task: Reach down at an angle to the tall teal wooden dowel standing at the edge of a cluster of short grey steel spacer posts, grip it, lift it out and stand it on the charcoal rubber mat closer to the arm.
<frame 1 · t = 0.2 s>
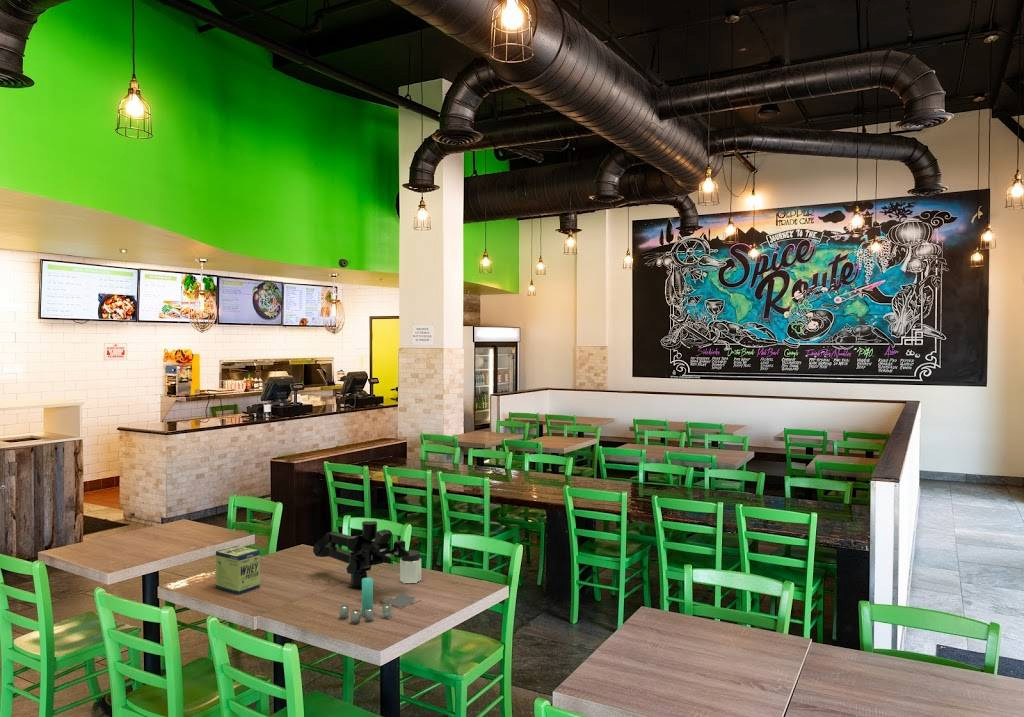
hand: (399, 557, 275), 17 cm above the table, tool horizontal, fingers open, 9 cm apart
spacer posts: (367, 614, 260), on the table
jar: (410, 581, 299), on the table
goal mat: (401, 601, 274), on the table
teal dowel: (367, 614, 260), on the table
protein box: (237, 588, 290), on the table
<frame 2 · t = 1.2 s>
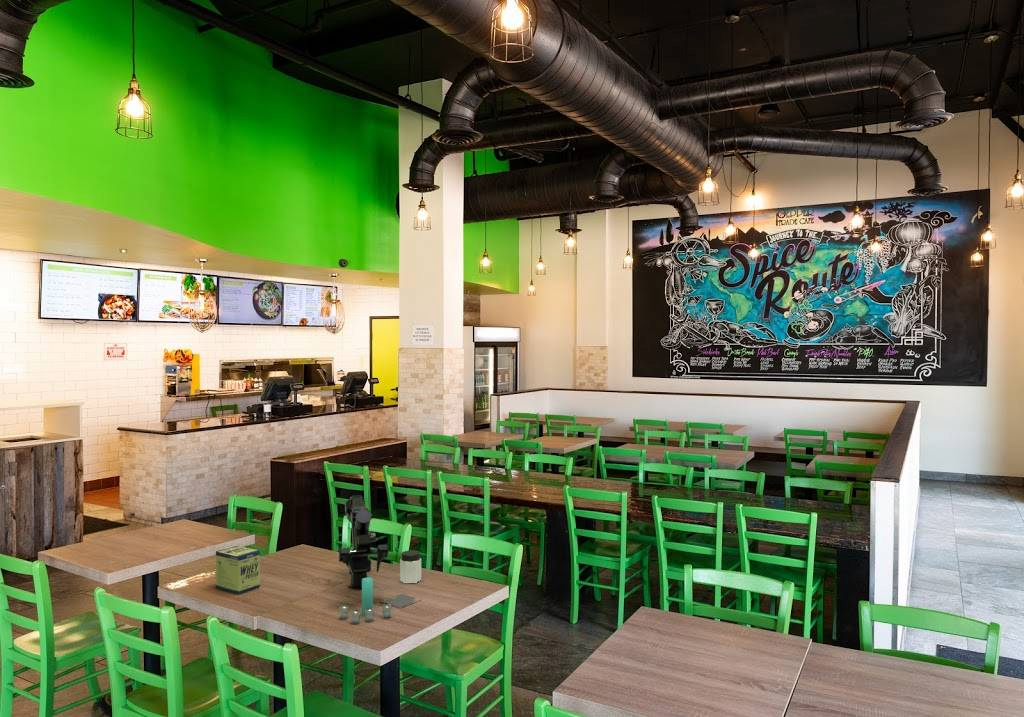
hand: (365, 572, 267), 13 cm above the table, tool tilted 45°, fingers open, 9 cm apart
nothing on the table moved.
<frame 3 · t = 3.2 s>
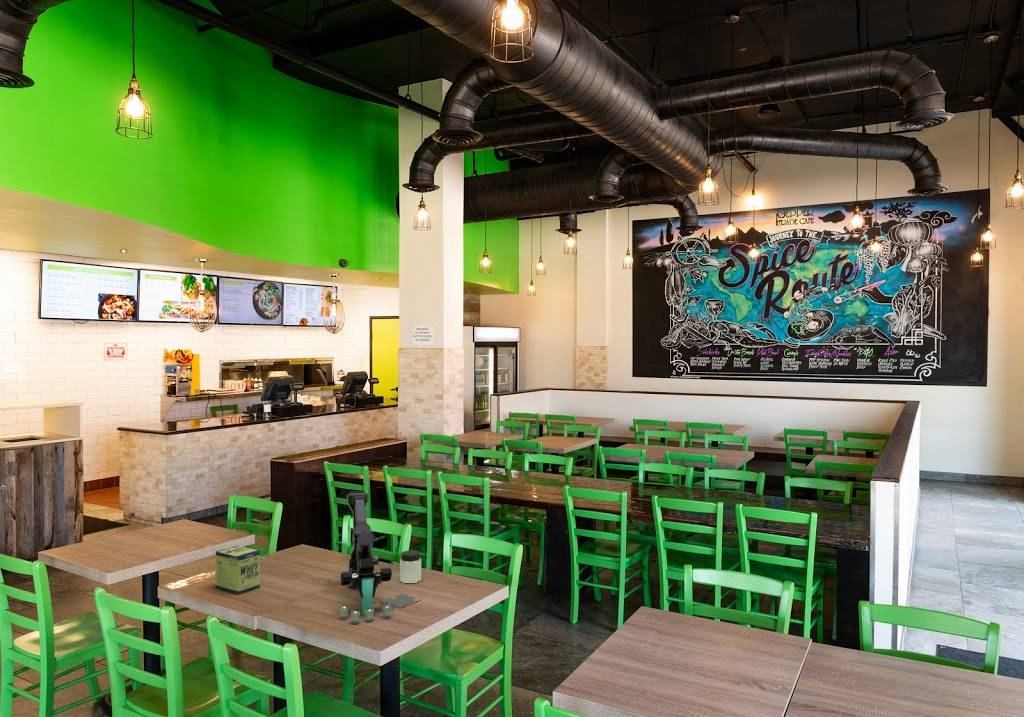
hand: (367, 597, 259), 7 cm above the table, tool tilted 45°, fingers closed on teal dowel, 4 cm apart
teal dowel: (367, 614, 260), on the table, touching gripper
everything else where it was.
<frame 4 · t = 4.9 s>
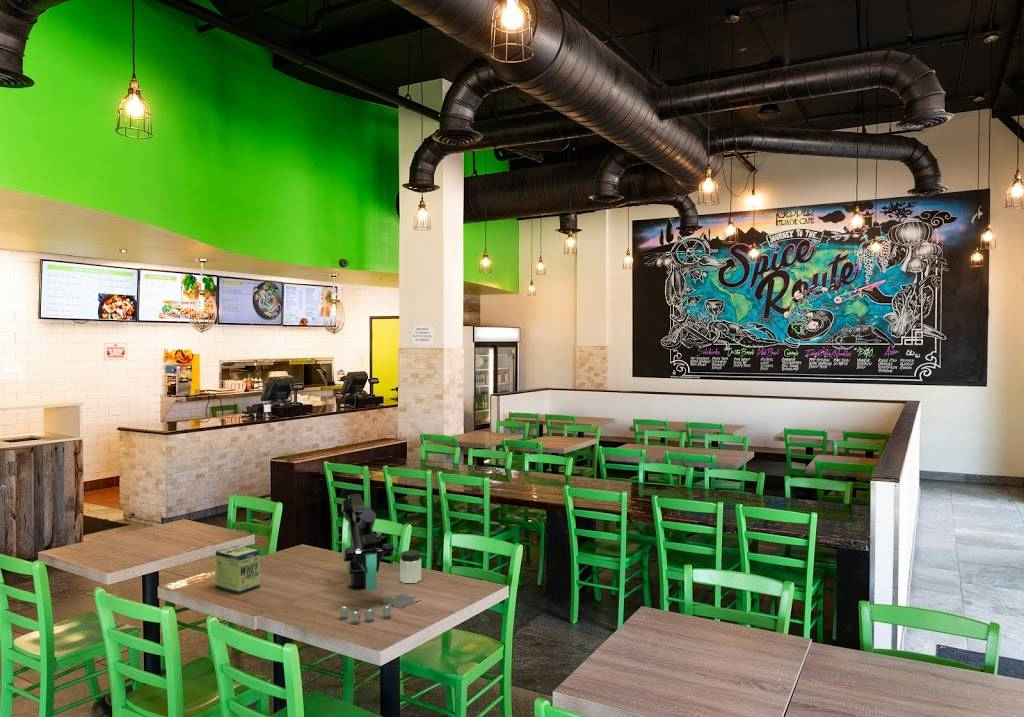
hand: (372, 572, 267), 14 cm above the table, tool tilted 45°, fingers closed on teal dowel, 4 cm apart
teal dowel: (371, 588, 268), point 7 cm above the table, touching gripper
everything else where it was.
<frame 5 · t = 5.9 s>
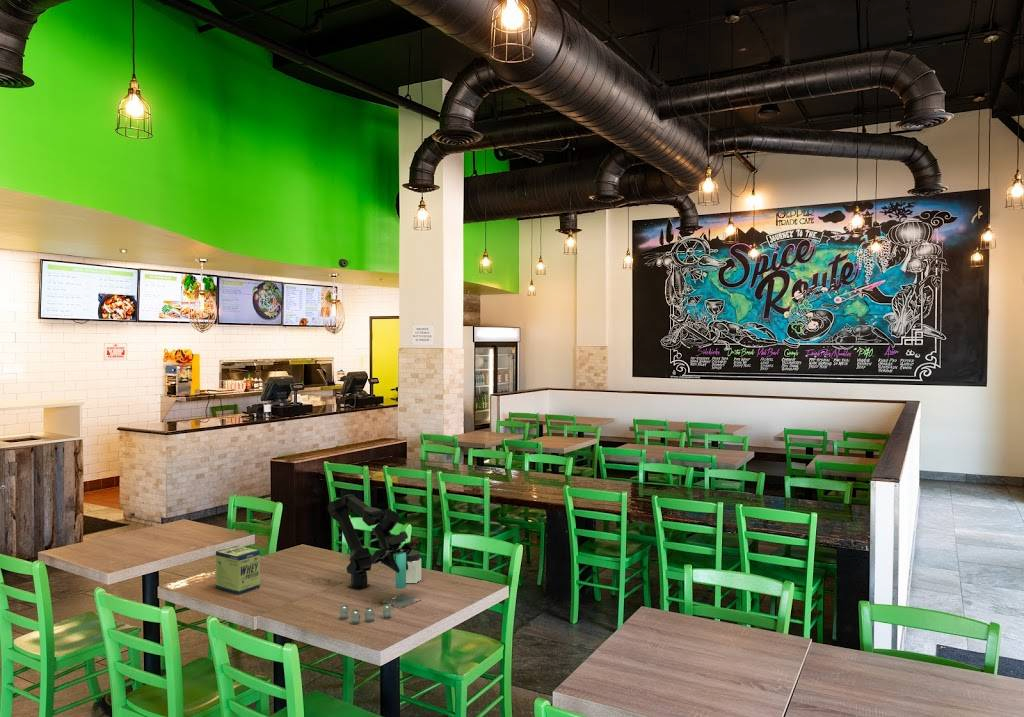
hand: (403, 570, 273), 12 cm above the table, tool tilted 45°, fingers closed on teal dowel, 4 cm apart
teal dowel: (400, 586, 274), point 6 cm above the table, touching gripper
everything else where it was.
when the fingers open (8 cm above the table, at t = 6.8 s): teal dowel drops 1 cm, resting on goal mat.
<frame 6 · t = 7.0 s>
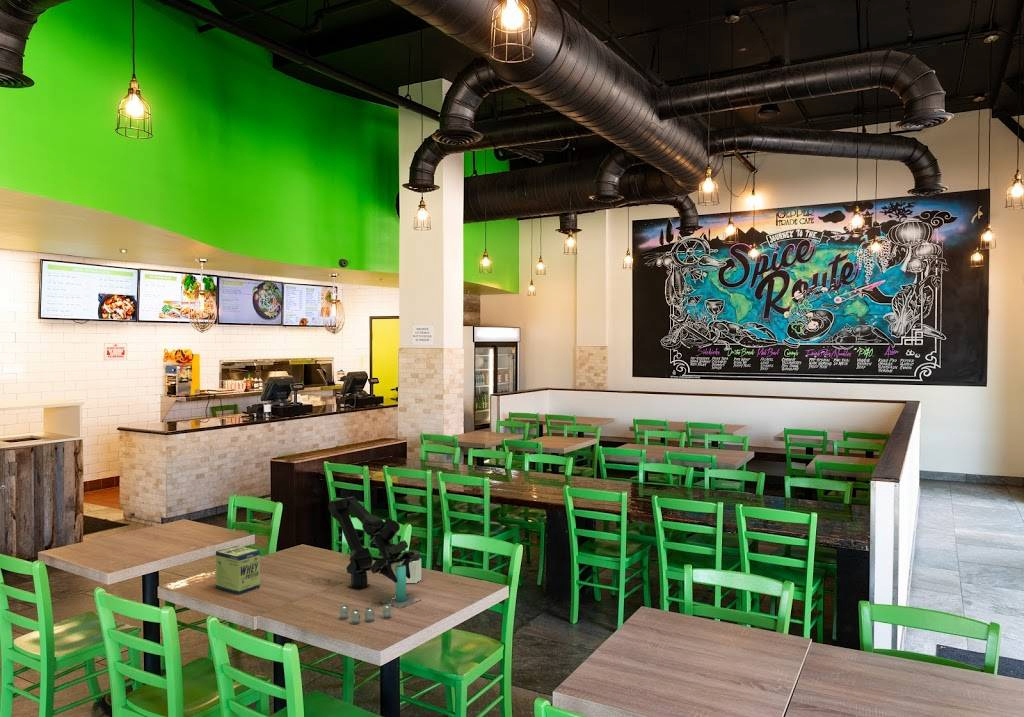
hand: (403, 580, 273), 9 cm above the table, tool tilted 45°, fingers open, 6 cm apart
teal dowel: (401, 600, 274), resting on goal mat
everything else where it was.
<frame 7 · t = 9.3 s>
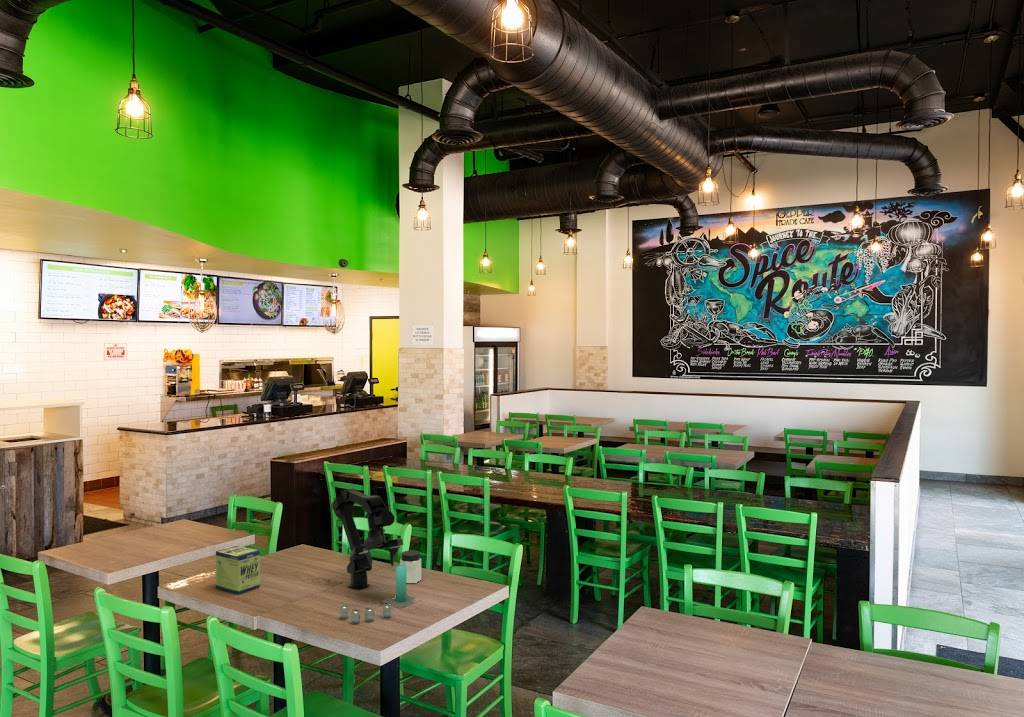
hand: (381, 568, 278), 12 cm above the table, tool tilted 15°, fingers open, 9 cm apart
nothing on the table moved.
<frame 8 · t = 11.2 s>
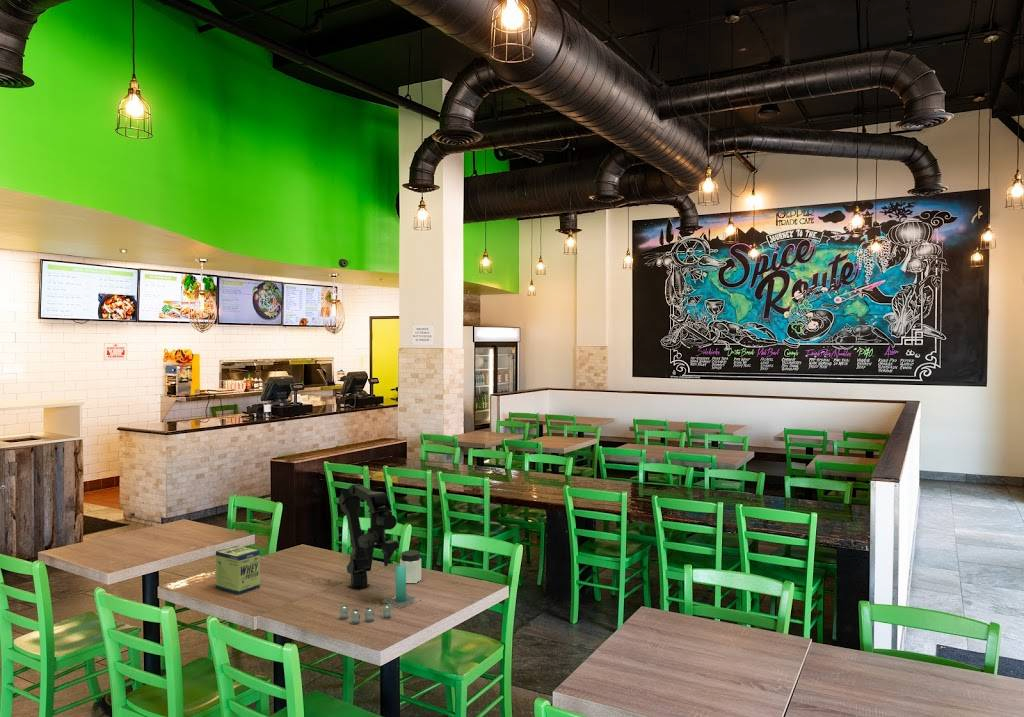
hand: (377, 564, 279), 13 cm above the table, tool pointing down, fingers open, 9 cm apart
nothing on the table moved.
at the end: teal dowel 0.0 cm from the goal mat (horizontally); teal dowel tilted 1°; the gripper is holding nothing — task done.
